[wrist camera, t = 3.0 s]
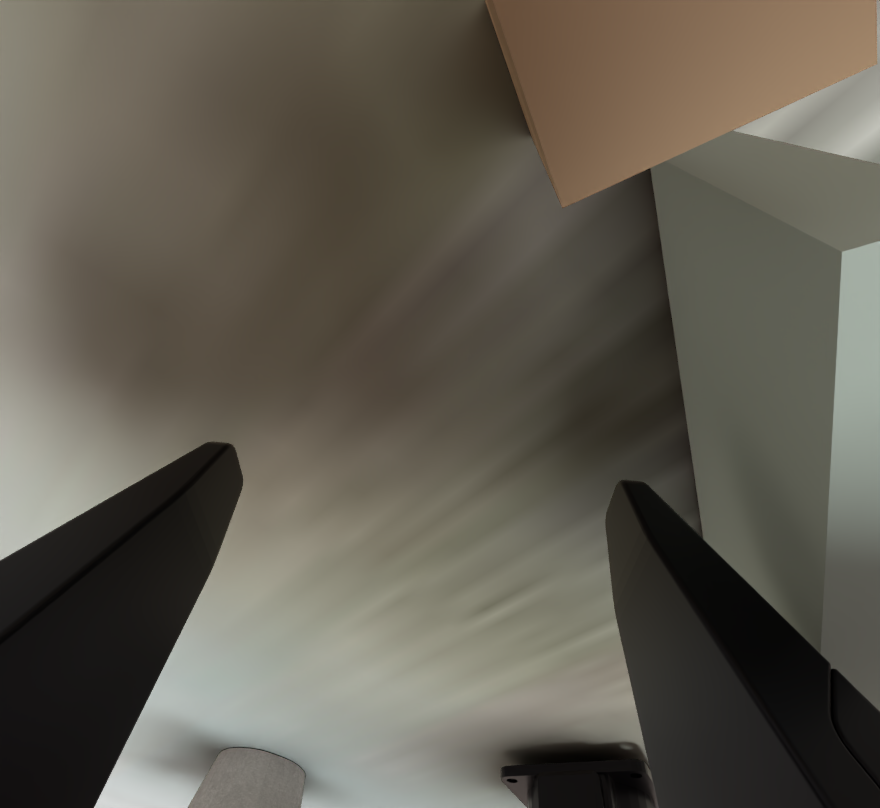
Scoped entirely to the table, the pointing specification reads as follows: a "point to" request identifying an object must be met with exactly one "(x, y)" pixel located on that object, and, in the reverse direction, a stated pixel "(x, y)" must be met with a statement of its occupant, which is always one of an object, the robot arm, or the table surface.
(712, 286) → the door
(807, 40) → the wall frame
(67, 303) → the table surface
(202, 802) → the house plant
